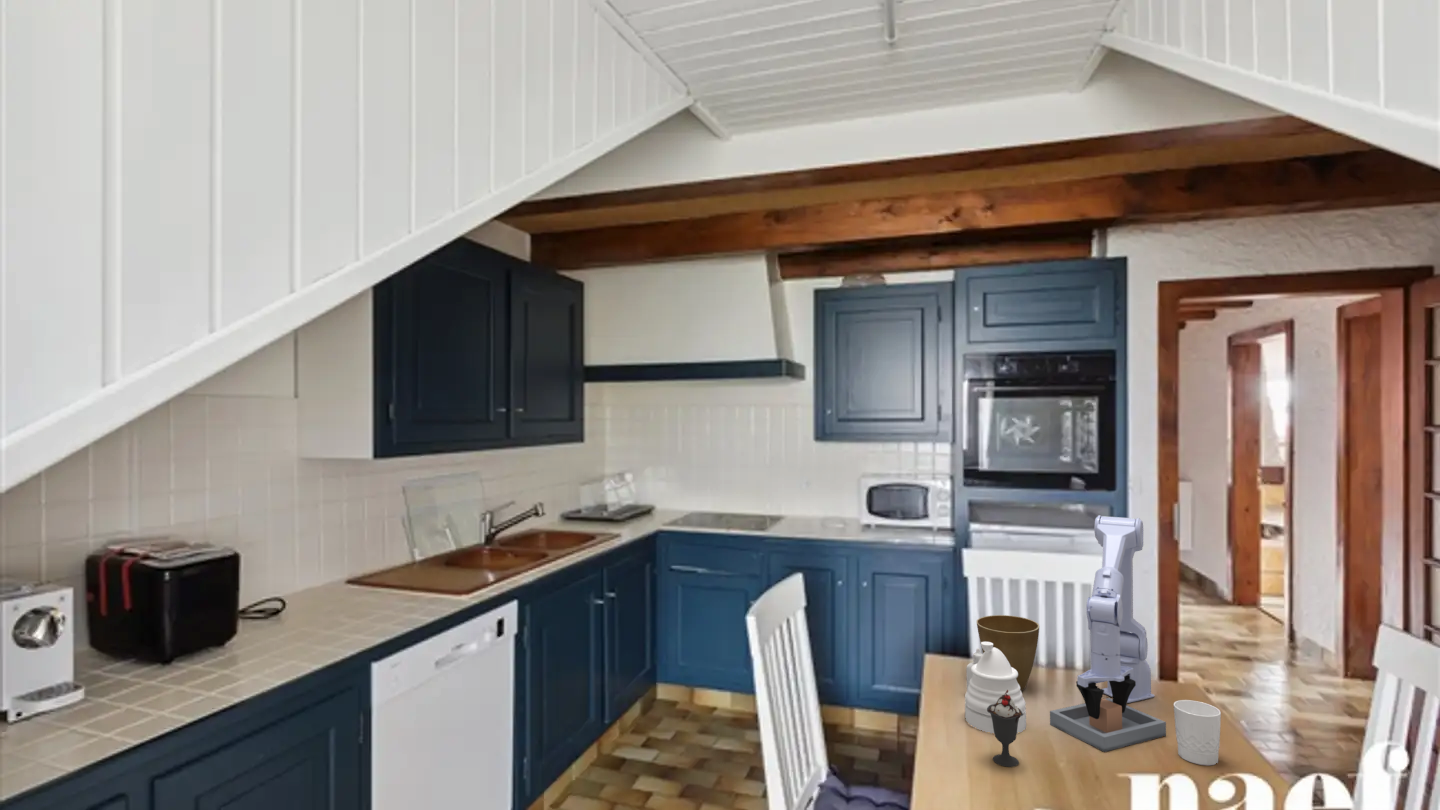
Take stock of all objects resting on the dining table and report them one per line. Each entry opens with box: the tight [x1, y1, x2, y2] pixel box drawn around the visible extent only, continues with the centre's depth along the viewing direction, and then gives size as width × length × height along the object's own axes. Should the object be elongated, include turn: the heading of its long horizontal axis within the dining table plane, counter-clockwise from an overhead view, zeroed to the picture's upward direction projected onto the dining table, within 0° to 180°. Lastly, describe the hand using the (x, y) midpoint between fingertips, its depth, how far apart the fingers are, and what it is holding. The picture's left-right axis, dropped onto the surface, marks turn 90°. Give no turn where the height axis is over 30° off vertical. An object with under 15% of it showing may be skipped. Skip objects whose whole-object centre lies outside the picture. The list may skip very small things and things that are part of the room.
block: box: [1089, 698, 1122, 733], centre depth 157 cm, size 4×4×5 cm
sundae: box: [987, 690, 1023, 768], centre depth 144 cm, size 7×7×15 cm
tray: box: [1049, 697, 1167, 753], centre depth 156 cm, size 18×14×3 cm
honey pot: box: [964, 642, 1027, 734], centre depth 162 cm, size 13×13×18 cm
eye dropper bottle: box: [966, 647, 983, 692], centre depth 175 cm, size 4×6×12 cm
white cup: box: [1173, 699, 1222, 766], centre depth 144 cm, size 8×8×10 cm
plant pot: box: [976, 614, 1040, 691], centre depth 182 cm, size 15×15×16 cm
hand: (1106, 714), depth 156 cm, fingers open, 7 cm apart
